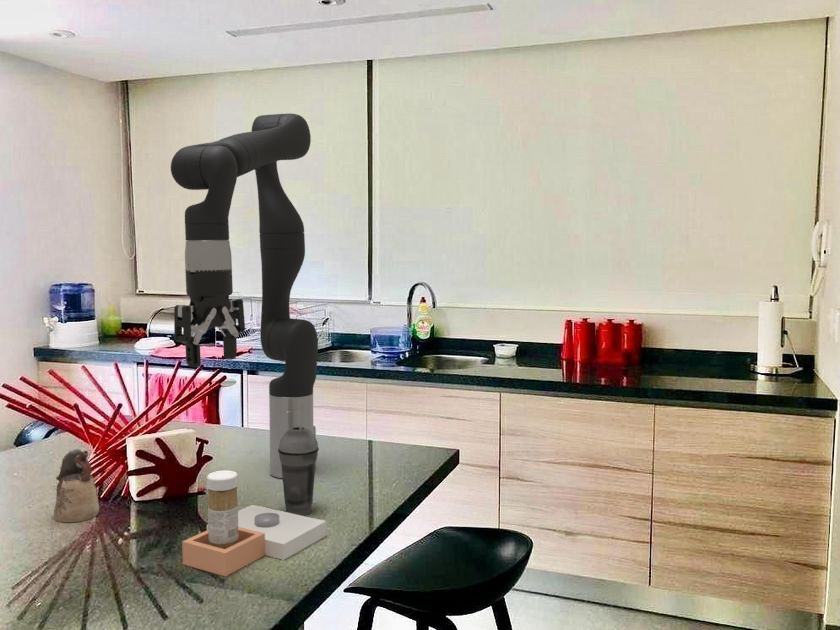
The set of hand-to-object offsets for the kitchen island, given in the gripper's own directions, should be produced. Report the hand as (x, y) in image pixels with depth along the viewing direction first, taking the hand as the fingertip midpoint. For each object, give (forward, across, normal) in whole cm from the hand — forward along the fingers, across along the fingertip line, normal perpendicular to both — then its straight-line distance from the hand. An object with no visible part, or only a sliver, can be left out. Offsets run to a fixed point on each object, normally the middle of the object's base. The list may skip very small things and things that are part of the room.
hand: (212, 362), depth 121 cm
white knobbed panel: (+28, +6, +12) cm, 31 cm away
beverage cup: (+29, -11, +9) cm, 32 cm away
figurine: (+28, +10, -24) cm, 38 cm away
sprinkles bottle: (+28, +12, +12) cm, 32 cm away
